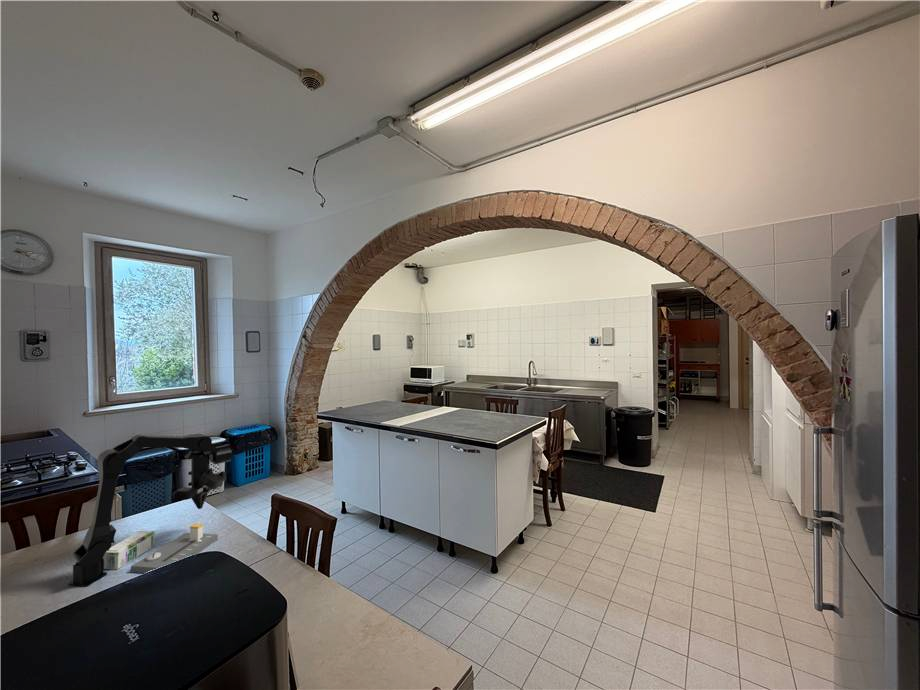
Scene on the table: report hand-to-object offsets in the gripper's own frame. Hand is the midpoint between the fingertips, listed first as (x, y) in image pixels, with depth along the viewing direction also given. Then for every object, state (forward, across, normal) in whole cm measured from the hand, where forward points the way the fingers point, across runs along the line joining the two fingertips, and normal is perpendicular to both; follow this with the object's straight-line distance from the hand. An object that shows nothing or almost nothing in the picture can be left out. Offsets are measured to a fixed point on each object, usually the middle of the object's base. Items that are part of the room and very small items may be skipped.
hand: (200, 508), depth 143 cm
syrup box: (+9, -6, +16) cm, 19 cm away
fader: (+10, -3, -2) cm, 10 cm away
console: (+12, -10, 0) cm, 16 cm away
